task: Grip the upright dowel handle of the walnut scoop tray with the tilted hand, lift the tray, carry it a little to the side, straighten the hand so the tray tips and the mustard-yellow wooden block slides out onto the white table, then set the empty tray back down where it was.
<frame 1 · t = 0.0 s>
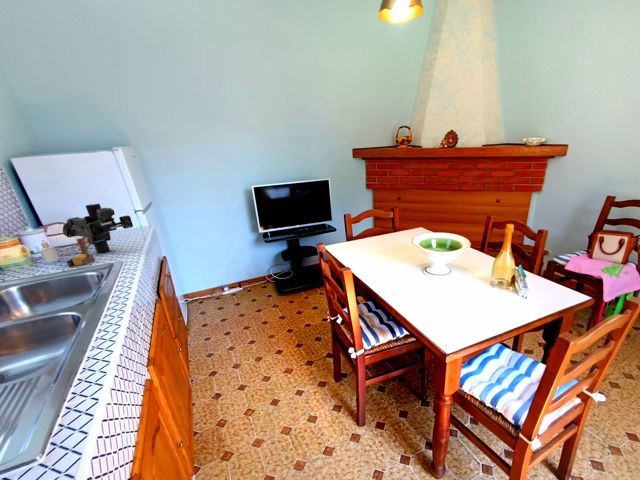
hand: (120, 226, 146), 17 cm above the counter, tool horizontal, fingers open, 9 cm apart
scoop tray: (82, 265, 147), on the counter, touching block
eye dropper bottle: (53, 262, 153), on the counter
block: (82, 263, 146), point 1 cm above the counter, touching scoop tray
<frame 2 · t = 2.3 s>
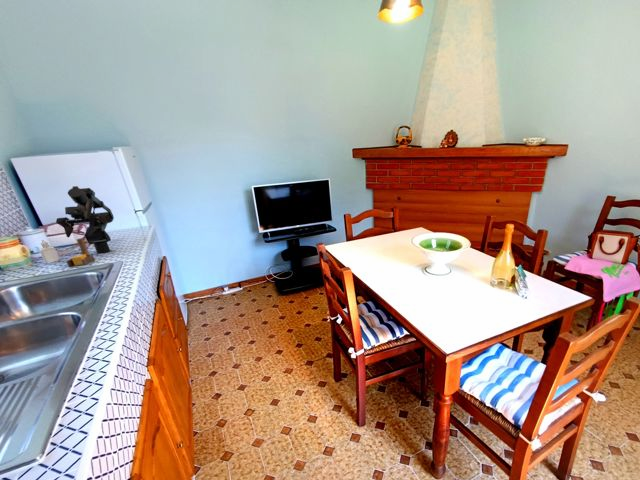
hand: (78, 236, 145), 14 cm above the counter, tool tilted 45°, fingers open, 9 cm apart
nothing on the counter moved.
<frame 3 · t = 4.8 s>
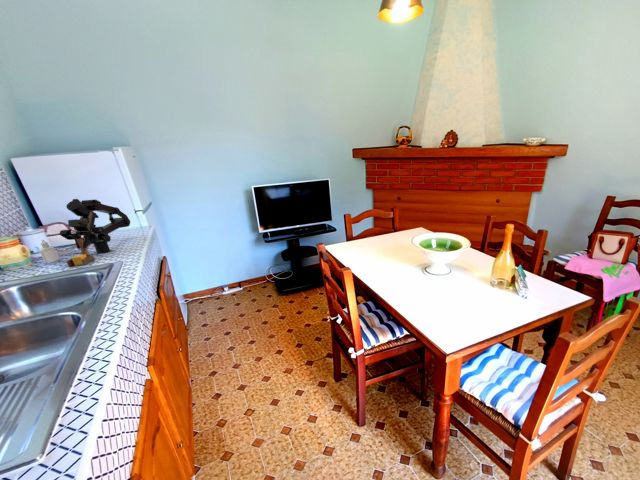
hand: (81, 248, 147), 8 cm above the counter, tool tilted 45°, fingers closed on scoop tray, 2 cm apart
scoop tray: (82, 265, 147), on the counter, touching block, gripper
everything else where it was.
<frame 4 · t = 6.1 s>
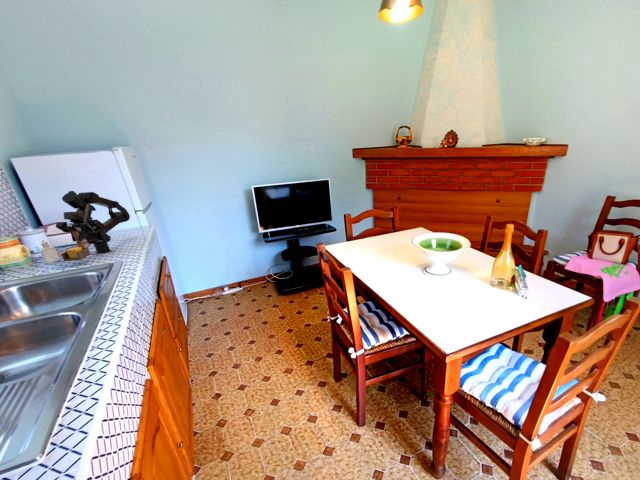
hand: (76, 241, 145), 11 cm above the counter, tool tilted 45°, fingers closed on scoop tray, 2 cm apart
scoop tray: (77, 257, 145), point 4 cm above the counter, touching block, gripper
block: (77, 256, 145), point 5 cm above the counter, touching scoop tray
everything else where it was.
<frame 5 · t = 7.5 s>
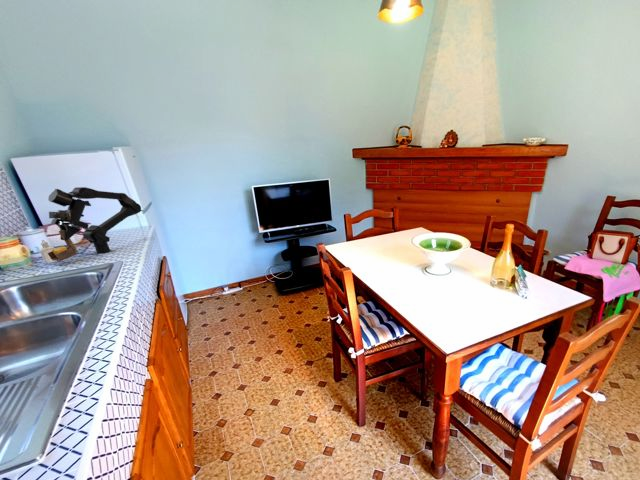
hand: (63, 240, 146), 12 cm above the counter, tool tilted 35°, fingers closed on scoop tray, 2 cm apart
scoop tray: (64, 257, 147), point 4 cm above the counter, tilted 8°, touching block, gripper
block: (63, 255, 146), point 5 cm above the counter, tilted 8°, touching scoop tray
everything else where it was.
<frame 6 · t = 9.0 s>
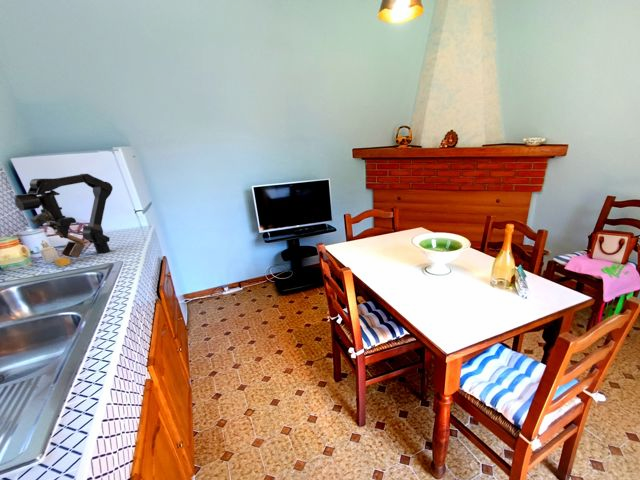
hand: (64, 237, 146), 13 cm above the counter, tool pointing down, fingers closed on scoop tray, 2 cm apart
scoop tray: (77, 251, 152), point 5 cm above the counter, tilted 45°, touching gripper
block: (60, 258, 145), point 4 cm above the counter, tilted 180°
everything else where it was.
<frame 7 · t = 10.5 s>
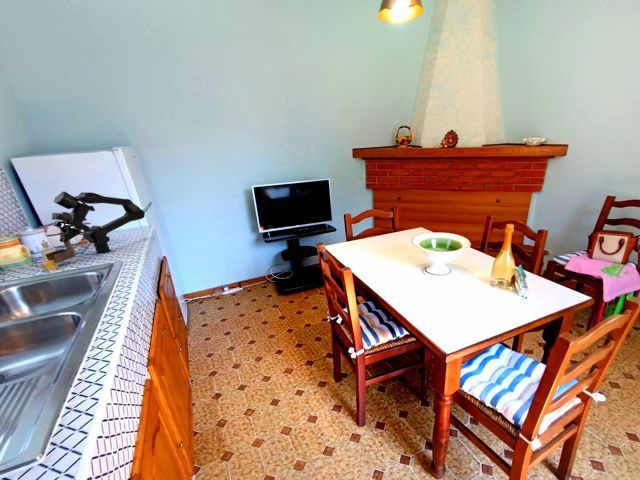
hand: (62, 241, 145), 11 cm above the counter, tool tilted 45°, fingers closed on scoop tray, 2 cm apart
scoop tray: (62, 259, 146), point 3 cm above the counter, touching gripper
block: (47, 262, 141), point 4 cm above the counter, tilted 176°
everything else where it was.
when the fingers open (8 cm above the counter, at t = 13.0 s): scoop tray stays where it is, on the counter.
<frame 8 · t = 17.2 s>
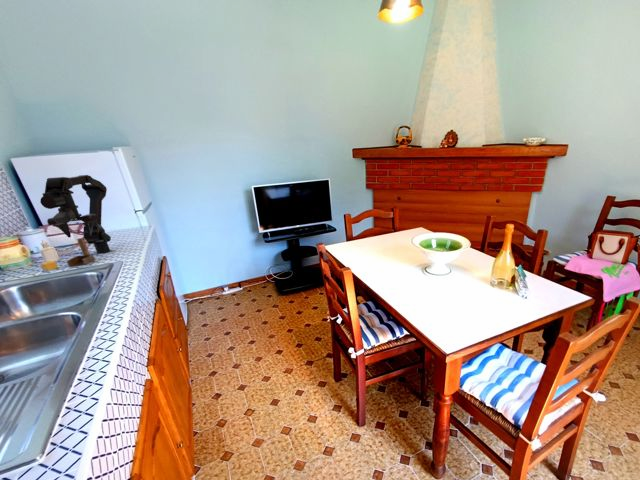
hand: (80, 236, 147), 13 cm above the counter, tool pointing down, fingers open, 9 cm apart
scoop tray: (83, 264, 147), on the counter
at the end: block touching counter; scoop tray tilted 0° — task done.
